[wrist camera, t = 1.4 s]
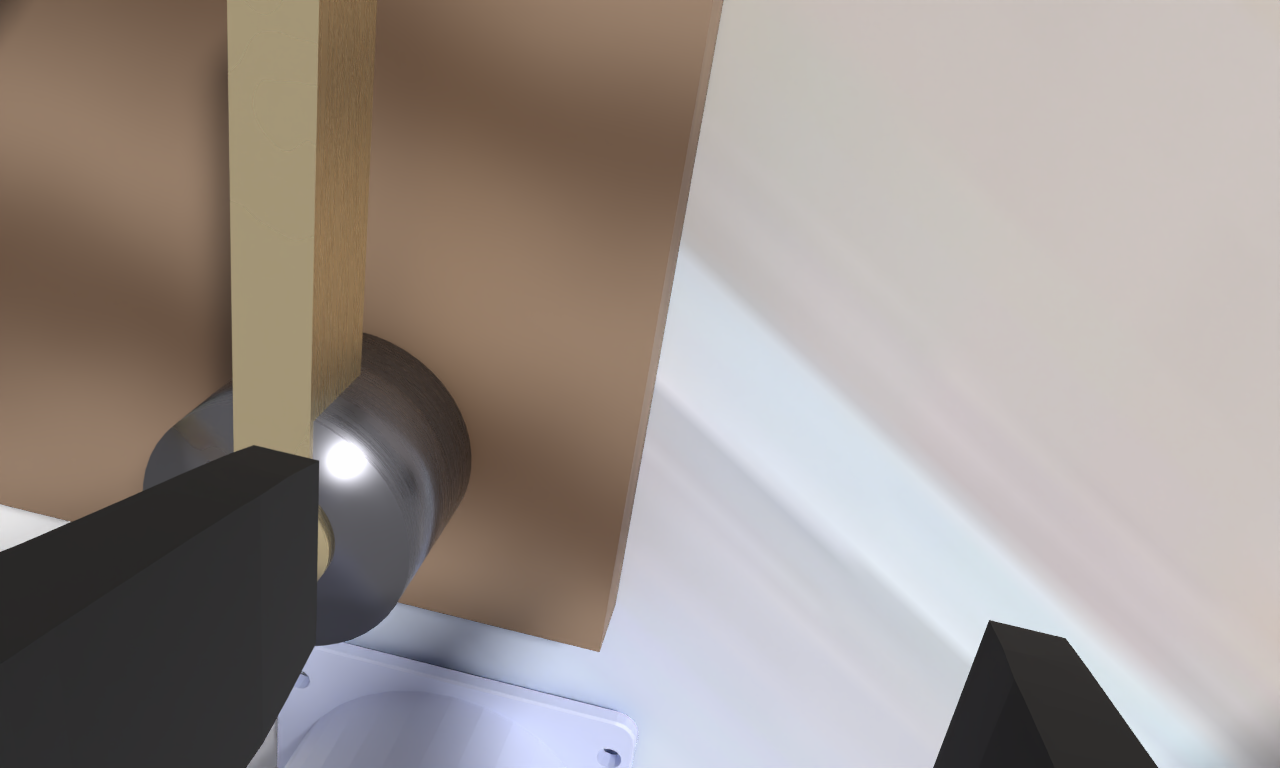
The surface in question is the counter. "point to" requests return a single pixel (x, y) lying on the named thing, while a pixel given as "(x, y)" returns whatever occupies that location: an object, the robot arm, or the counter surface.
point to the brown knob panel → (395, 260)
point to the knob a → (321, 315)
